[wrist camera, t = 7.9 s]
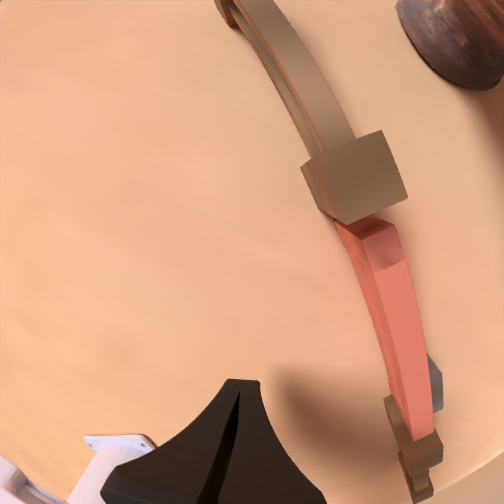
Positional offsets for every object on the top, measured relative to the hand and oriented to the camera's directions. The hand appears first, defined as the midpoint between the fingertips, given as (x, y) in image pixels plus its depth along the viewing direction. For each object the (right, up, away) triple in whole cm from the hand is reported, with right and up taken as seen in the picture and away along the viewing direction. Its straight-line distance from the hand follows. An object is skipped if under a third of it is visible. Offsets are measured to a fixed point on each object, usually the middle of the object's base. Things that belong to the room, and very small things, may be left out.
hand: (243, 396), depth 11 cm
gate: (+7, +3, +2) cm, 8 cm away
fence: (+7, +4, +2) cm, 8 cm away
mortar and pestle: (+13, +19, -2) cm, 23 cm away
